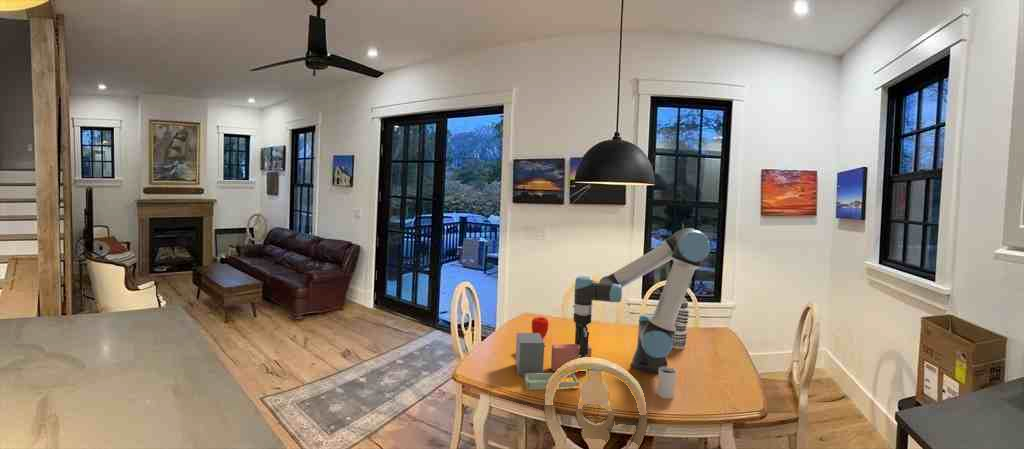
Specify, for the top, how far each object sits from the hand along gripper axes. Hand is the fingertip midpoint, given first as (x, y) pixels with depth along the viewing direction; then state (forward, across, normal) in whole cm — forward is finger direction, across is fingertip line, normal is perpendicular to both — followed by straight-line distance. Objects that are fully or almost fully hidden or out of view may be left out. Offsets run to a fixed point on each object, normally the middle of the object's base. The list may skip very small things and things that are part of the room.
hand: (580, 366), depth 198 cm
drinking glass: (+2, +24, +28) cm, 37 cm away
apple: (+2, -40, -11) cm, 42 cm away
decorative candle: (+2, -30, +58) cm, 65 cm away
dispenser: (+2, 0, -22) cm, 22 cm away
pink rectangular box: (+1, 0, -4) cm, 4 cm away
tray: (+2, +14, -15) cm, 21 cm away
